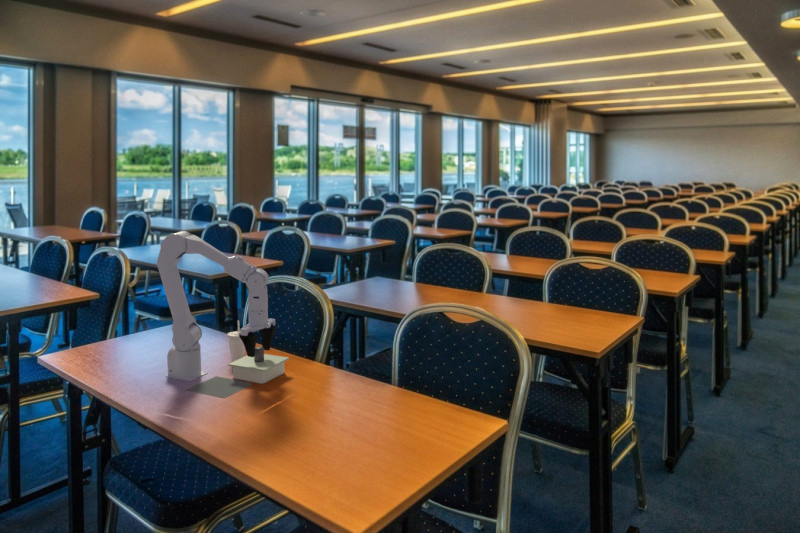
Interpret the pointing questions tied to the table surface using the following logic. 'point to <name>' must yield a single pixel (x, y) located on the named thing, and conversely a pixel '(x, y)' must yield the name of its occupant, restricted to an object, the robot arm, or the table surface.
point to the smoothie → (236, 345)
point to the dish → (258, 374)
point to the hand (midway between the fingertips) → (258, 353)
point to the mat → (219, 387)
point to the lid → (259, 361)
